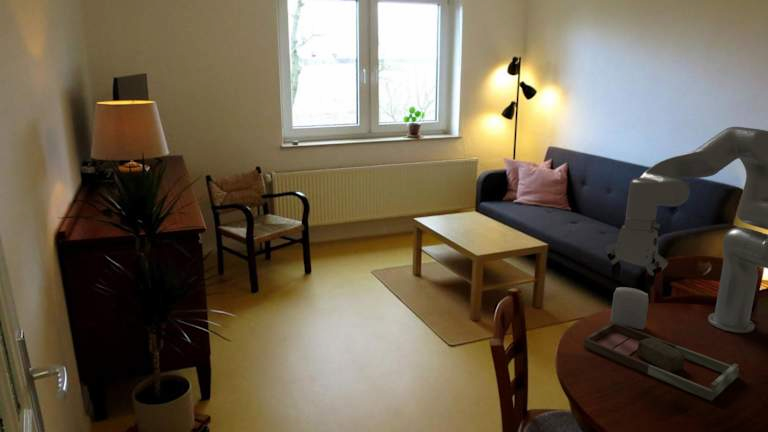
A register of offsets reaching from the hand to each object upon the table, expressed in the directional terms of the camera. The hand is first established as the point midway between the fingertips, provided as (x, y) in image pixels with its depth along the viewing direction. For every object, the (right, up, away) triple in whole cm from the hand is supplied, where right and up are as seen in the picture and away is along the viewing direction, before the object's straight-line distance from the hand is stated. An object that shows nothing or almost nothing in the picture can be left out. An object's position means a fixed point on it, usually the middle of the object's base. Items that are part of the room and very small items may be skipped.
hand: (631, 281), depth 158 cm
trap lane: (+6, -22, -1) cm, 23 cm away
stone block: (+7, -23, -1) cm, 24 cm away
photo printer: (+8, -16, +21) cm, 27 cm away
